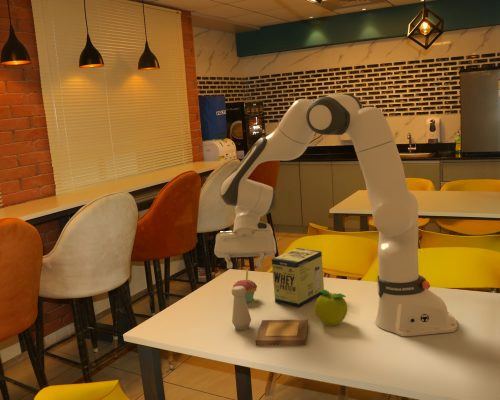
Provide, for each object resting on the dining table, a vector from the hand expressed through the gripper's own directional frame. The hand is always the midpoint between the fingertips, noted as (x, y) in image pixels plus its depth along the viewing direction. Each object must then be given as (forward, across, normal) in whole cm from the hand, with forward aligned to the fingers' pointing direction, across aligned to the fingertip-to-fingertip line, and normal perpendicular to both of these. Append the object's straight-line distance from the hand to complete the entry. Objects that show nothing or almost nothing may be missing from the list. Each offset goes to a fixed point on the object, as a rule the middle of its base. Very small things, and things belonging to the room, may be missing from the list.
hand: (243, 267), depth 164 cm
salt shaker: (+19, 0, +4) cm, 19 cm away
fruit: (+17, +27, +5) cm, 33 cm away
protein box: (+2, +16, +21) cm, 26 cm away
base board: (+22, +13, 0) cm, 26 cm away
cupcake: (+2, -3, +20) cm, 21 cm away
